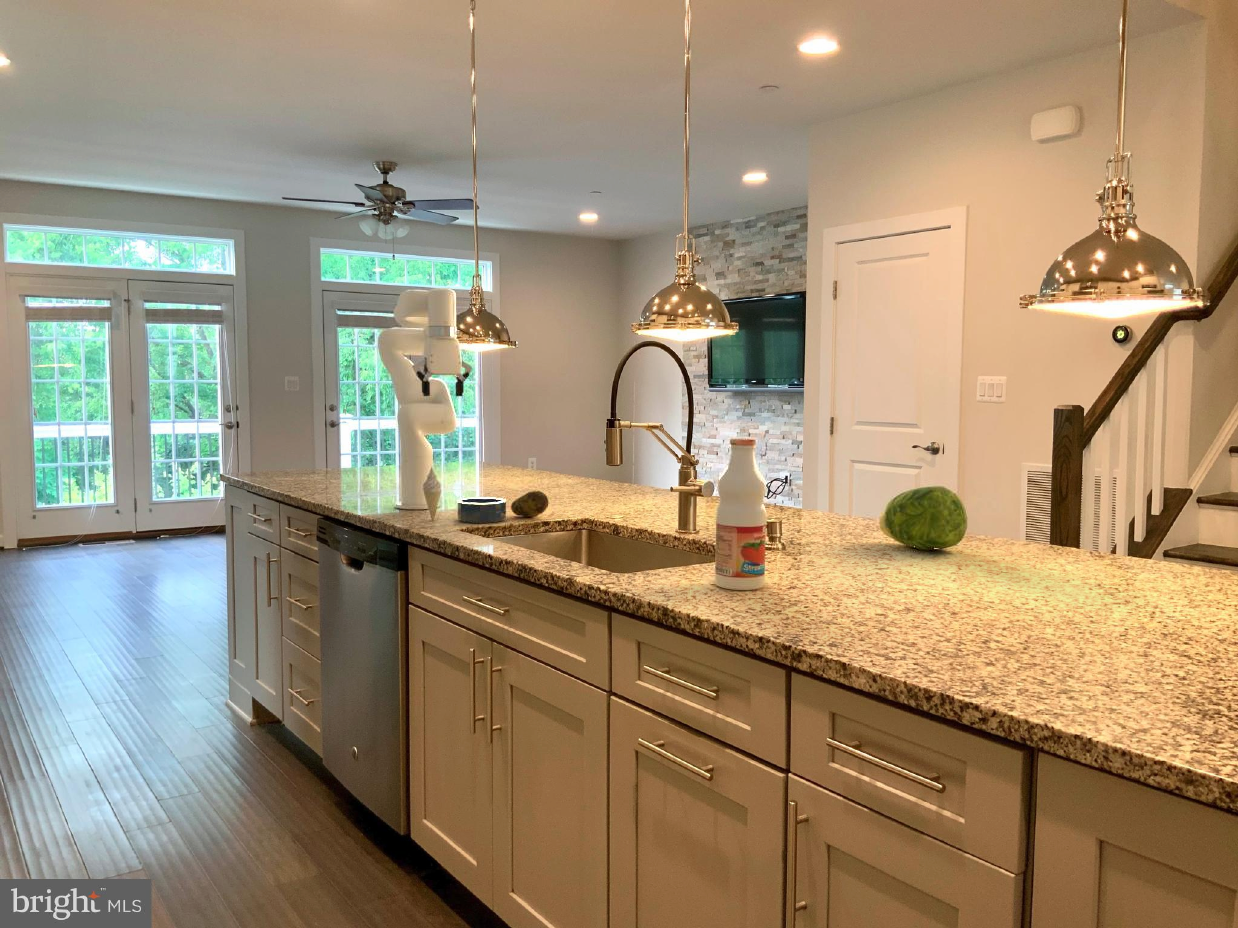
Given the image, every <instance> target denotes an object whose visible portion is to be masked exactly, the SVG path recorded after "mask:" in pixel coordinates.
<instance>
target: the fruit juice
mask: <svg viewBox="0 0 1238 928" xmlns="http://www.w3.org/2000/svg"><path fill="white" fill-rule="evenodd" d="M756 446H757V440H756V439H754V438H730V439H729V448H730V457H729V459H728V463H727V465H726V468H725V469H724V471H723V472H722V473H721V475H720V476H719V478H718V481H717V492H718V497H719V503H718V505H717V507H716V514H715V515H716V516H715V554H714V555H715V556H714V557H715V559H714V560H715V561H714V562H715V563H714V581H715V585H716V586H717V587H719V588H722V589H726V590H734V591H754V590H758V589H762V588H763V587H764V585H765V581H766V580H765V579H766V575H765V573H766V570H765V569H766V542H767V541H766V538H767V537H766V535H767V510H766V507H765V505H764V499H765V495H766V492H767V483H766V482H767V481H766V479H765V477H764V476H763V474H762V473H761V471H760V469H759V467H758V465H757V461H756V458H755V449H756V448H757V447H756Z"/></svg>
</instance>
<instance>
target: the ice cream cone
mask: <svg viewBox="0 0 1238 928" xmlns="http://www.w3.org/2000/svg"><path fill="white" fill-rule="evenodd" d="M437 477H438V476H437V474H436V473H435V471H434V467H433V468H432V467H431V470H430V472H429V474H428V476H427V480H426V481H425V483H424V484H423V490H424V491H423V492H424V495H425V498H426V502H427V505H428V509H427V510H428V513H429V515H430V519H431V521H432V522H433V521H435V517H436V513H437V509H438V507H439V502H440V498H441V494H442V488H441V486H442V484H441V482H440V481H439V480H438V478H437ZM437 506H438V507H437Z"/></svg>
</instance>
